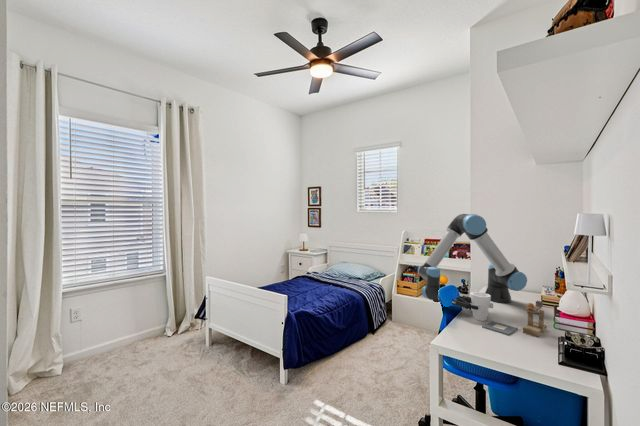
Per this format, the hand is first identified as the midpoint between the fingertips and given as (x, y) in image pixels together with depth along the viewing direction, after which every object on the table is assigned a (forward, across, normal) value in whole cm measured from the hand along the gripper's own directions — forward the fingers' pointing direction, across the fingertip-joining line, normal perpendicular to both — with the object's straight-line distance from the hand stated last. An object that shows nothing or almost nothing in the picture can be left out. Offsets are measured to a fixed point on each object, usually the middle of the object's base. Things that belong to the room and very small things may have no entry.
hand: (489, 307), depth 162 cm
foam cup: (-4, 0, -7) cm, 8 cm away
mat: (+8, +6, -7) cm, 12 cm away
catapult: (+20, -3, -7) cm, 21 cm away
